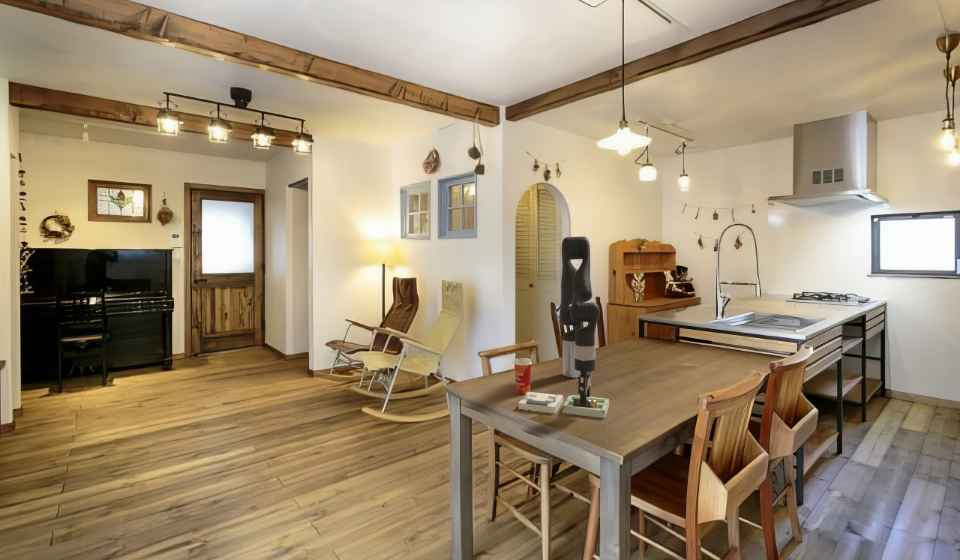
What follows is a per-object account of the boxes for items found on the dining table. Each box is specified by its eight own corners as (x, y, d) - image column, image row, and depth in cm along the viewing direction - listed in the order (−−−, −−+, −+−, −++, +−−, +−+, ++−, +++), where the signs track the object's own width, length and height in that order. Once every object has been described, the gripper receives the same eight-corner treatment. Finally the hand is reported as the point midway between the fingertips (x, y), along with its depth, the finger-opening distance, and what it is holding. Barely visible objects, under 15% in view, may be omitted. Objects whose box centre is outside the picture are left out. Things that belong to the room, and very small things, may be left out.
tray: (569, 401, 179) (569, 394, 179) (609, 405, 173) (609, 398, 173) (562, 413, 166) (562, 406, 166) (604, 418, 161) (604, 410, 161)
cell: (574, 407, 169) (574, 398, 170) (598, 409, 166) (598, 400, 167) (573, 407, 166) (573, 398, 167) (597, 409, 163) (597, 400, 164)
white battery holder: (528, 397, 184) (528, 387, 184) (563, 401, 179) (562, 390, 179) (518, 409, 171) (518, 398, 171) (555, 413, 166) (555, 402, 166)
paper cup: (511, 391, 194) (510, 358, 193) (527, 388, 196) (526, 356, 195) (519, 396, 186) (518, 362, 185) (535, 394, 189) (535, 360, 188)
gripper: (577, 352, 174) (578, 393, 175) (570, 360, 160) (571, 405, 161) (597, 353, 171) (598, 395, 172) (592, 362, 158) (592, 408, 159)
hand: (585, 400), depth 167 cm, fingers open, 8 cm apart
